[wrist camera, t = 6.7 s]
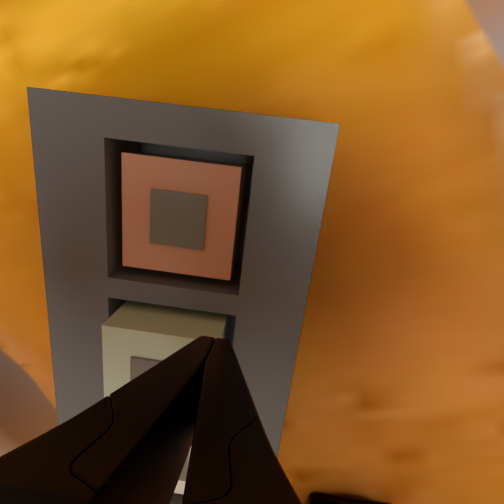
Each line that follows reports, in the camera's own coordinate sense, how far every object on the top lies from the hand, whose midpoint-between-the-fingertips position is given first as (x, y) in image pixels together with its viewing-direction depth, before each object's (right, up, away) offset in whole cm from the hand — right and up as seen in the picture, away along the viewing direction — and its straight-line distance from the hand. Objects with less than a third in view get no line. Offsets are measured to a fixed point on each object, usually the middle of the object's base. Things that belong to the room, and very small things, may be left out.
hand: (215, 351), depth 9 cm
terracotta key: (-2, +5, +8) cm, 9 cm away
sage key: (-3, -2, +8) cm, 9 cm away
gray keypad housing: (-3, -1, +11) cm, 12 cm away
